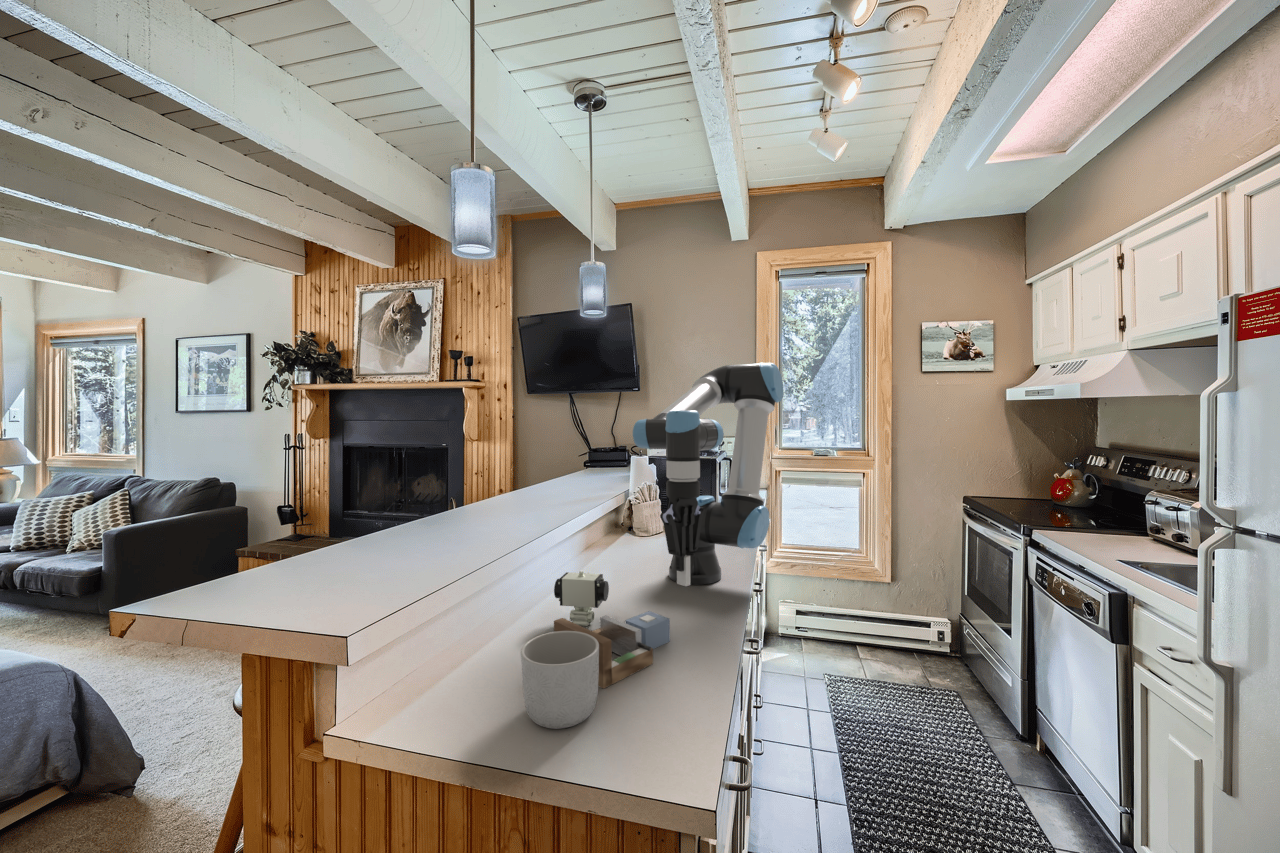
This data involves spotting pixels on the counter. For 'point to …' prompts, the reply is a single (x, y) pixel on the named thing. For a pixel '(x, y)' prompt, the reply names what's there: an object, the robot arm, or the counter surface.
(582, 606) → the pneumatic valve
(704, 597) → the counter surface
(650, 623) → the blue block
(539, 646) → the planter
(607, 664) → the gauge frame
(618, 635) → the grey flat panel
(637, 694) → the counter surface
